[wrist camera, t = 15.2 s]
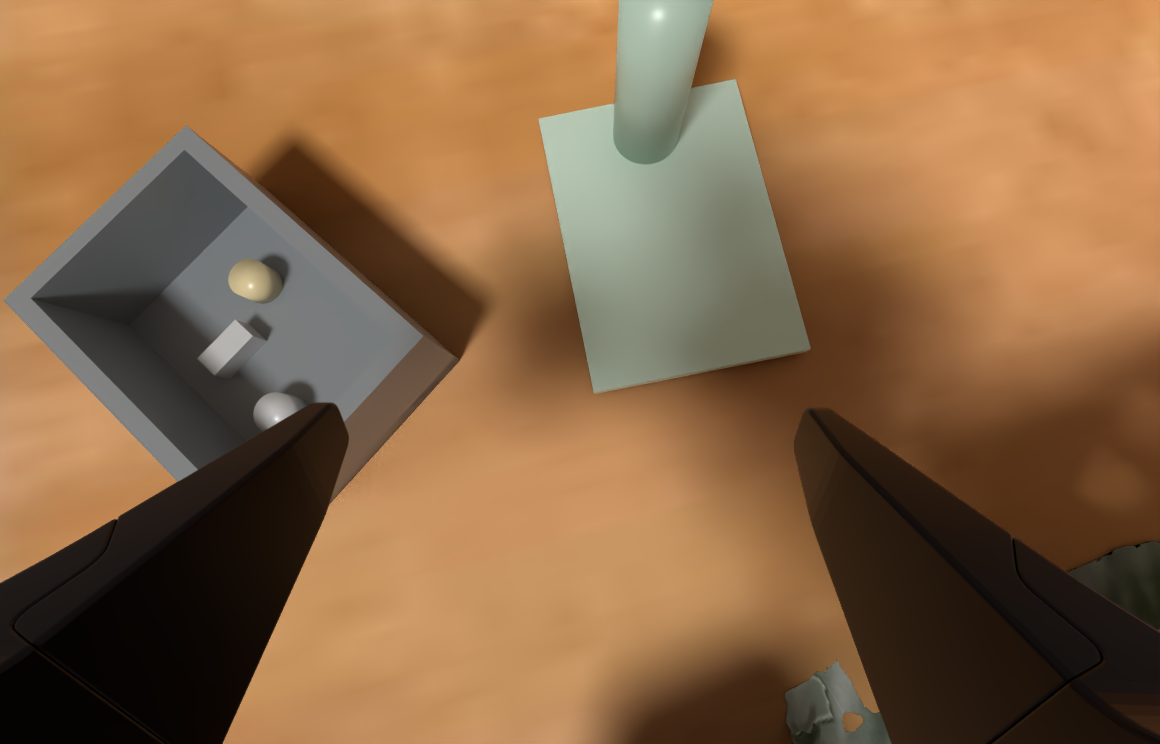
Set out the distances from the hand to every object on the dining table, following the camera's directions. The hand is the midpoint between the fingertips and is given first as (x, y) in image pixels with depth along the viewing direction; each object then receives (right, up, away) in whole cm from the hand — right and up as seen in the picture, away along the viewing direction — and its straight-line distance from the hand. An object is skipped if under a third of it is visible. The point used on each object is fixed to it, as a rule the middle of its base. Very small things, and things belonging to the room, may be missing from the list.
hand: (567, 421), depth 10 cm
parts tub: (-14, +2, +15) cm, 20 cm away
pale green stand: (+4, +8, +15) cm, 17 cm away
